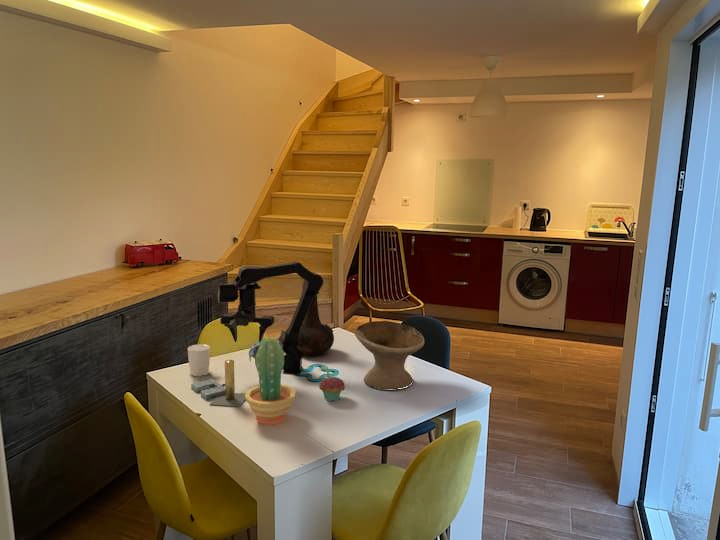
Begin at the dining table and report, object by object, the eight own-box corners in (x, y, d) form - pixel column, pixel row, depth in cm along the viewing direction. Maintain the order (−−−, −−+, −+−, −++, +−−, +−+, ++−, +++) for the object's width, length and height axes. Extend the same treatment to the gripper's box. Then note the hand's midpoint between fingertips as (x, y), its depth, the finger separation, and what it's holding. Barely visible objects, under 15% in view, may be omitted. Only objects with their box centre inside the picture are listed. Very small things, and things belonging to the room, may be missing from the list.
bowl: (369, 399, 177) (370, 342, 173) (343, 374, 200) (344, 323, 196) (436, 390, 186) (438, 335, 183) (404, 366, 209) (406, 318, 206)
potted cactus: (275, 403, 172) (275, 329, 168) (306, 418, 161) (306, 340, 157) (235, 417, 161) (233, 339, 157) (265, 434, 150) (264, 351, 146)
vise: (218, 382, 189) (218, 377, 189) (234, 393, 180) (234, 388, 179) (191, 388, 183) (191, 383, 182) (206, 400, 173) (206, 395, 173)
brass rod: (234, 396, 176) (234, 359, 173) (234, 400, 173) (234, 362, 170) (225, 397, 175) (224, 359, 173) (225, 400, 172) (224, 363, 170)
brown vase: (336, 358, 217) (337, 292, 213) (293, 360, 213) (293, 293, 209) (330, 345, 234) (330, 283, 230) (289, 347, 231) (289, 284, 226)
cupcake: (325, 405, 171) (325, 370, 170) (315, 395, 179) (315, 361, 177) (348, 400, 175) (349, 366, 173) (338, 391, 183) (338, 358, 181)
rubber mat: (249, 395, 178) (249, 393, 178) (239, 407, 168) (239, 406, 168) (221, 393, 179) (221, 392, 179) (209, 405, 169) (209, 404, 169)
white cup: (204, 377, 193) (203, 351, 191) (184, 375, 195) (183, 349, 193) (214, 370, 201) (213, 345, 199) (195, 368, 202) (194, 343, 201)
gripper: (214, 304, 184) (215, 347, 187) (265, 307, 182) (266, 350, 184) (225, 298, 195) (226, 338, 197) (274, 300, 193) (274, 341, 195)
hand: (247, 342), depth 193 cm, fingers open, 9 cm apart
